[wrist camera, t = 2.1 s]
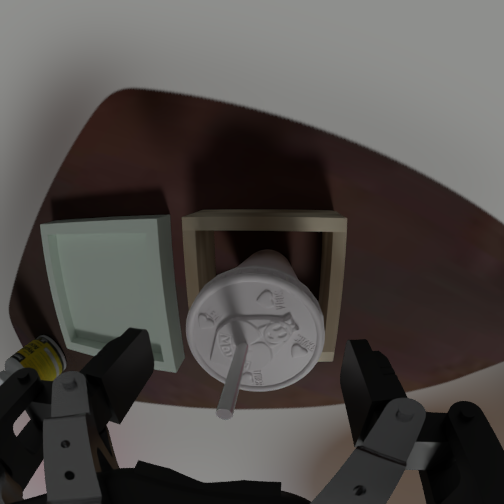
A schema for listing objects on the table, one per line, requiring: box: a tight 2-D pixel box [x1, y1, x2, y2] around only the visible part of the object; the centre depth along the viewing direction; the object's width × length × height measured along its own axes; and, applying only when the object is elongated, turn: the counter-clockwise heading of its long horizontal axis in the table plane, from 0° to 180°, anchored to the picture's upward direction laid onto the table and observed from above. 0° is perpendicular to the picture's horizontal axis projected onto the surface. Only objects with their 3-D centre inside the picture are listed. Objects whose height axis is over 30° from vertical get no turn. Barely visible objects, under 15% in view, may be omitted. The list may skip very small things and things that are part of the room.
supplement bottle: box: [0, 335, 66, 386], centre depth 23 cm, size 5×5×10 cm
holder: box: [182, 209, 347, 362], centre depth 19 cm, size 10×10×4 cm
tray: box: [40, 215, 185, 373], centre depth 22 cm, size 13×13×2 cm
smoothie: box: [186, 249, 325, 420], centre depth 15 cm, size 6×6×14 cm
